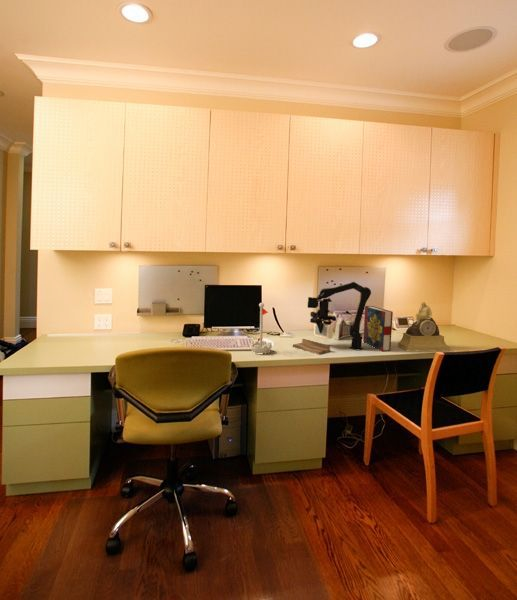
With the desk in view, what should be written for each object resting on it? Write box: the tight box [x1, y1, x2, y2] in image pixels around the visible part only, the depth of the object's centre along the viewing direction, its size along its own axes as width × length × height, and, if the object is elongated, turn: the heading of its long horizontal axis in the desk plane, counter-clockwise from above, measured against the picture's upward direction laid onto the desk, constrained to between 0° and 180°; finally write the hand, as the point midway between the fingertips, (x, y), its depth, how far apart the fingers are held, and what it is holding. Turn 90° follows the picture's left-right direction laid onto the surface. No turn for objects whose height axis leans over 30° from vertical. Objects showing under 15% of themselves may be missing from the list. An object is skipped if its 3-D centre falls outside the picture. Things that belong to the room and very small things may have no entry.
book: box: [362, 305, 394, 352], centre depth 253 cm, size 25×7×25 cm, turn 14°
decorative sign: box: [334, 317, 354, 341], centre depth 279 cm, size 23×3×15 cm, turn 141°
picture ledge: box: [292, 338, 331, 355], centre depth 244 cm, size 10×22×4 cm, turn 40°
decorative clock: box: [397, 301, 451, 352], centre depth 250 cm, size 28×13×30 cm, turn 95°
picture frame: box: [313, 323, 334, 340], centre depth 250 cm, size 4×12×8 cm, turn 40°
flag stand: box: [249, 302, 273, 354], centre depth 234 cm, size 13×13×30 cm
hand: (322, 332), depth 250 cm, fingers closed on picture frame, 4 cm apart
